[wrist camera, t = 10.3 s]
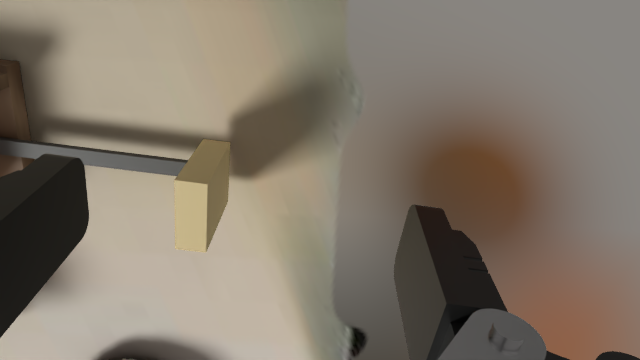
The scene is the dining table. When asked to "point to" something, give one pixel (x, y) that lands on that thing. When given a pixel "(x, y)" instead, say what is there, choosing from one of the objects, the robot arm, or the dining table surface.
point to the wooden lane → (12, 114)
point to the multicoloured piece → (190, 184)
